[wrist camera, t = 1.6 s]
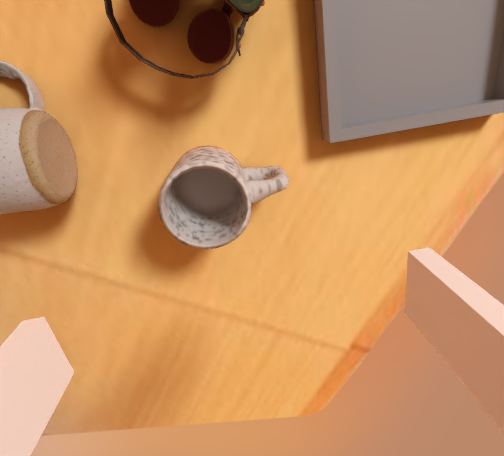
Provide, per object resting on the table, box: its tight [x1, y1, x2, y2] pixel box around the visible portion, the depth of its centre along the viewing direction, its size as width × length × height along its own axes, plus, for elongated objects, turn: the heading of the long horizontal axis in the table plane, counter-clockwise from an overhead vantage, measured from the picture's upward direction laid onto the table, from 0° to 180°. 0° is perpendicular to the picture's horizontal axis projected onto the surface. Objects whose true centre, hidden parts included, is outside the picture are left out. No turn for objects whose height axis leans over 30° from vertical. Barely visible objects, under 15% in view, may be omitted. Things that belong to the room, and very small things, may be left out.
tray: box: [313, 0, 504, 143], centre depth 24 cm, size 16×16×2 cm
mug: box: [158, 146, 289, 249], centre depth 26 cm, size 10×7×7 cm
